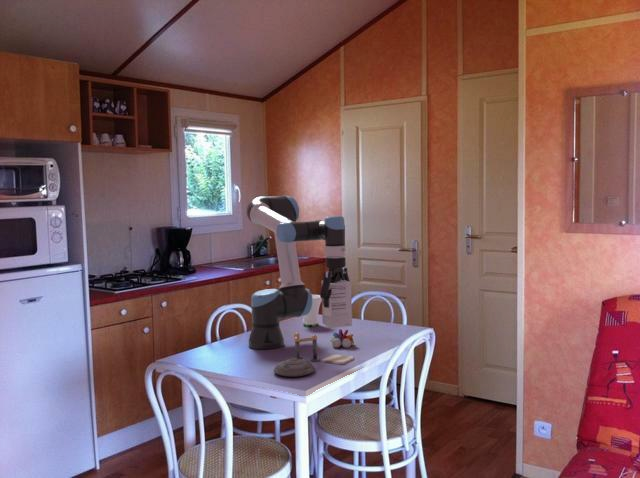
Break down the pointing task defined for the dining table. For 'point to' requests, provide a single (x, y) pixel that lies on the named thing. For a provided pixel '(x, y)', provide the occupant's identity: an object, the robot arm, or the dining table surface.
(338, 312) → the supplement box
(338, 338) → the rainbow disc toy
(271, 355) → the dining table surface
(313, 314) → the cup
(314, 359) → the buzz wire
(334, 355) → the coaster
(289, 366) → the flying saucer
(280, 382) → the dining table surface
